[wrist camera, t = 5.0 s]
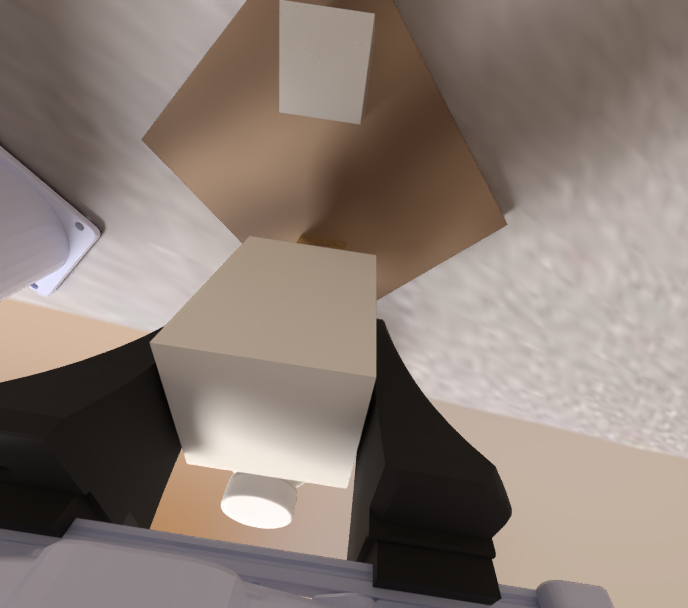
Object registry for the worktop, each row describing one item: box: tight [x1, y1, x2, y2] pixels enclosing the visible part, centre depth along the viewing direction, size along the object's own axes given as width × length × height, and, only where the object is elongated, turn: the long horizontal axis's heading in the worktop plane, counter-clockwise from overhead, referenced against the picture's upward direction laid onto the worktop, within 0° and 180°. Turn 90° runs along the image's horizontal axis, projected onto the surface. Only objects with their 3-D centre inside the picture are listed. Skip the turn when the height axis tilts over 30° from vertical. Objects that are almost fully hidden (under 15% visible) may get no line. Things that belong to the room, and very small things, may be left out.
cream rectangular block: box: [149, 236, 376, 488], centre depth 11 cm, size 5×5×7 cm
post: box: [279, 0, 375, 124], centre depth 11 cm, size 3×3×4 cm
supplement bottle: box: [221, 471, 305, 529], centre depth 21 cm, size 5×5×10 cm
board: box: [141, 0, 508, 300], centre depth 15 cm, size 14×12×1 cm
